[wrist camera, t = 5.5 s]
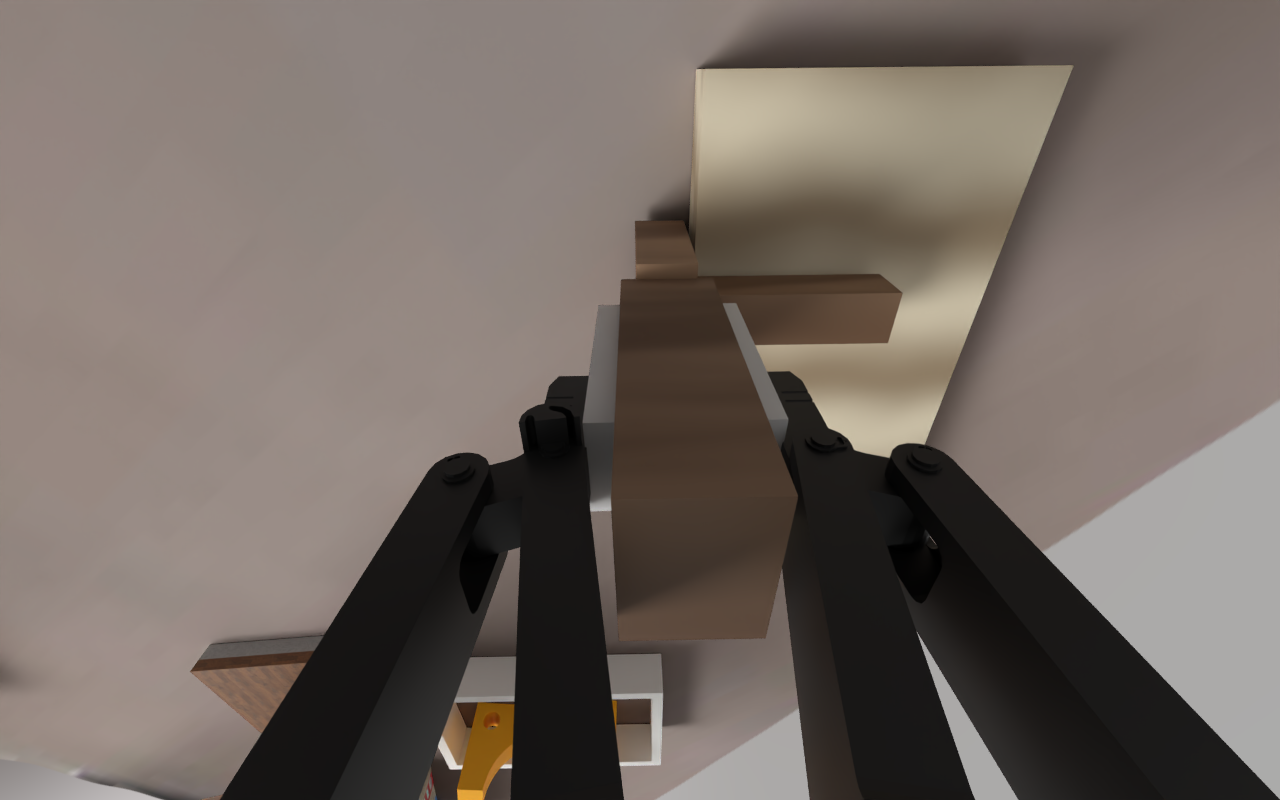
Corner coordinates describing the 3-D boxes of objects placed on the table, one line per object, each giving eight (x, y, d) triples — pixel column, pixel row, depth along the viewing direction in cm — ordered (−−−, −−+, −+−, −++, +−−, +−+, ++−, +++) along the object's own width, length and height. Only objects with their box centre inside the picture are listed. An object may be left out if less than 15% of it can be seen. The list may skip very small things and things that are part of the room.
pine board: (696, 69, 18) (704, 69, 16) (1023, 65, 18) (1075, 65, 16) (676, 502, 30) (680, 535, 28) (872, 499, 30) (891, 531, 28)
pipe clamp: (616, 699, 44) (614, 787, 38) (610, 722, 46) (607, 808, 41) (478, 690, 43) (456, 780, 37) (479, 714, 45) (458, 802, 40)
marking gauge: (623, 221, 21) (608, 476, 8) (863, 218, 21) (1253, 465, 8) (625, 331, 23) (619, 654, 10) (838, 328, 23) (1093, 645, 10)
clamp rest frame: (426, 658, 39) (412, 698, 37) (661, 653, 40) (663, 693, 37) (459, 731, 46) (450, 769, 44) (659, 727, 46) (660, 765, 44)
